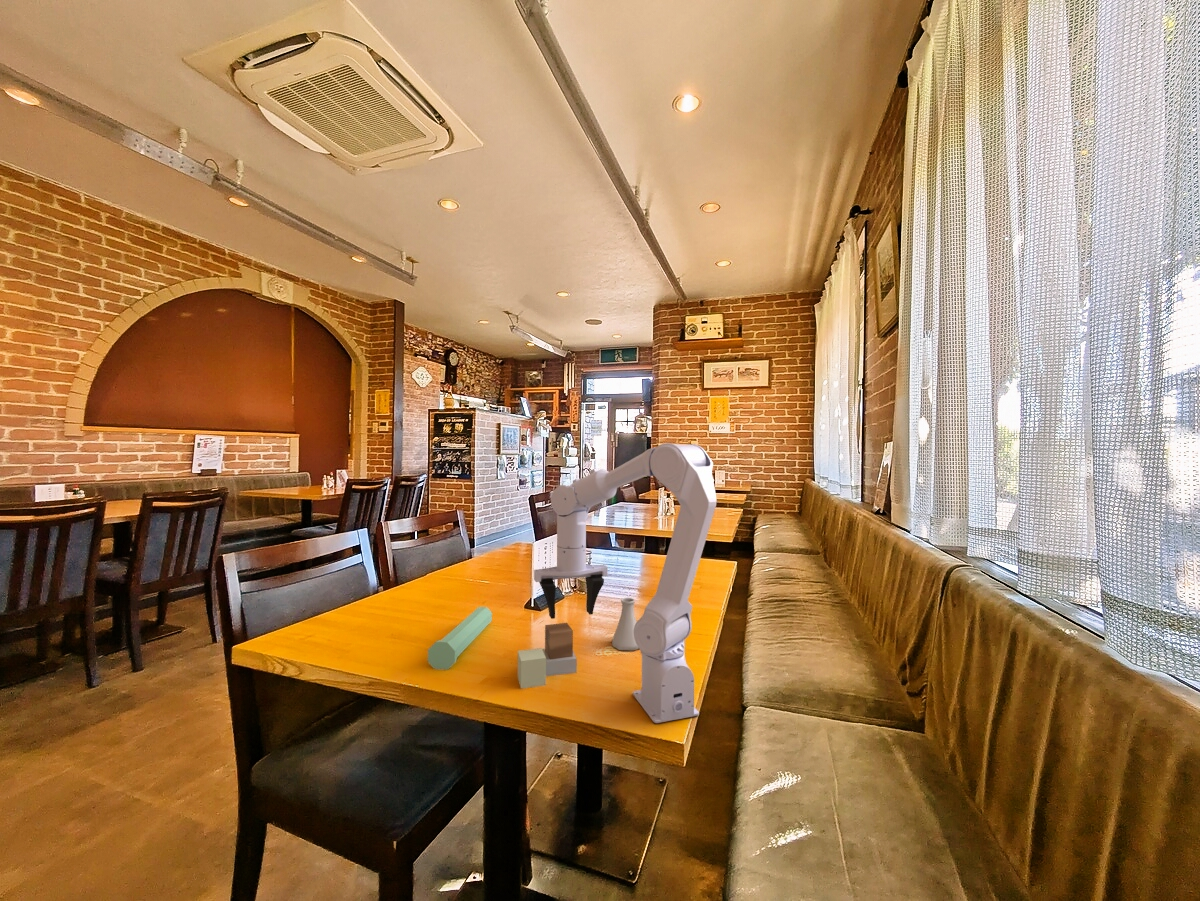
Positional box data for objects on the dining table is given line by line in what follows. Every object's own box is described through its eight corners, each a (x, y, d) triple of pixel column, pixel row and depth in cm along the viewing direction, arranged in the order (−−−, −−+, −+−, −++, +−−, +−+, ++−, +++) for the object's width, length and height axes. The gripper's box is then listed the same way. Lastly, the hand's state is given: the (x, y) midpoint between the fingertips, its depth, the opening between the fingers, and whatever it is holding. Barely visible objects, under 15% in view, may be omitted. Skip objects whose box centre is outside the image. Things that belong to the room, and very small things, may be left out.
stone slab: (576, 674, 89) (576, 658, 89) (545, 677, 88) (545, 661, 88) (570, 660, 95) (571, 646, 95) (541, 663, 94) (541, 648, 94)
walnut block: (572, 656, 90) (572, 630, 90) (550, 659, 89) (550, 633, 89) (566, 647, 95) (566, 622, 95) (544, 649, 93) (545, 625, 93)
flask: (617, 653, 98) (617, 606, 98) (607, 640, 105) (607, 596, 105) (649, 649, 100) (649, 603, 100) (637, 637, 107) (637, 593, 107)
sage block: (545, 685, 85) (546, 657, 85) (521, 689, 83) (521, 661, 83) (541, 674, 89) (541, 647, 89) (517, 677, 87) (517, 650, 87)
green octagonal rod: (478, 598, 115) (433, 635, 91) (500, 608, 115) (460, 648, 90) (469, 620, 116) (422, 663, 91) (490, 630, 115) (449, 676, 90)
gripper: (599, 540, 98) (599, 604, 98) (531, 544, 93) (531, 612, 93) (611, 546, 91) (610, 616, 91) (538, 551, 87) (537, 624, 86)
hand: (571, 614), depth 92 cm, fingers open, 7 cm apart
